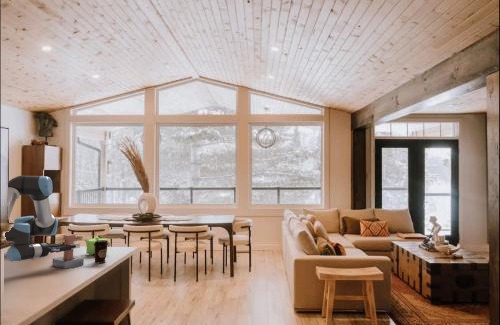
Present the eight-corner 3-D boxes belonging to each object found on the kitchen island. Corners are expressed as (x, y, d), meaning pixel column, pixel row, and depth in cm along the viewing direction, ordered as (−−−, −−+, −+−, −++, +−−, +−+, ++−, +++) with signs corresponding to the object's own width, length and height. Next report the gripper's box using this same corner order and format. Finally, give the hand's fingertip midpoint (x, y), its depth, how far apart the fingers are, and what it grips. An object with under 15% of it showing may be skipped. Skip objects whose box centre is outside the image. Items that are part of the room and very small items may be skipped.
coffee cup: (110, 261, 246) (111, 240, 246) (101, 264, 238) (102, 242, 238) (99, 260, 249) (100, 239, 249) (89, 262, 241) (90, 241, 241)
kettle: (89, 257, 255) (90, 240, 255) (80, 253, 265) (81, 237, 265) (111, 254, 265) (112, 237, 266) (102, 251, 275) (102, 235, 276)
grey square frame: (52, 265, 231) (52, 258, 231) (71, 261, 241) (71, 255, 241) (64, 268, 225) (64, 261, 225) (83, 265, 235) (83, 258, 235)
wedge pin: (62, 259, 232) (63, 235, 232) (70, 257, 236) (71, 234, 236) (66, 260, 230) (67, 235, 230) (73, 258, 234) (75, 234, 234)
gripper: (30, 255, 222) (68, 249, 242) (47, 259, 213) (85, 253, 233) (30, 241, 222) (69, 236, 242) (47, 245, 213) (86, 240, 233)
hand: (77, 244), depth 238 cm, fingers closed on wedge pin, 4 cm apart
